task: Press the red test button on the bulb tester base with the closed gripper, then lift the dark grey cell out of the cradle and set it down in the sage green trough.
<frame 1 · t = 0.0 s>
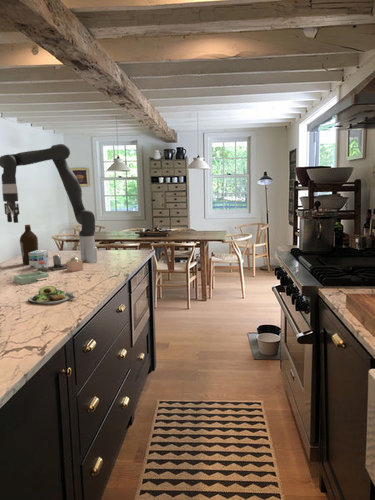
hand: (12, 222, 212), 29 cm above the countertop, tool pointing down, fingers open, 8 cm apart
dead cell: (75, 271, 219), point 1 cm above the countertop, touching tan square box
olive oil: (30, 263, 249), on the countertop
test button: (41, 262, 216), point 6 cm above the countertop, slide at 0.0 cm
green trough: (31, 280, 201), on the countertop
salad plate: (51, 300, 166), on the countertop
tan square box: (75, 272, 219), on the countertop
grey cell: (57, 268, 223), point 1 cm above the countertop, touching bulb tester base
light bulb box: (39, 269, 231), on the countertop
bulb tester base: (51, 272, 220), on the countertop
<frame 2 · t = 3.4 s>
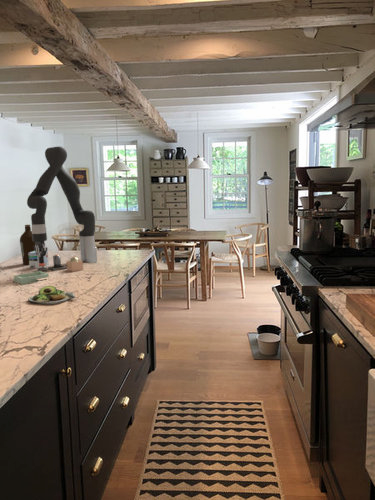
hand: (41, 263, 216), 6 cm above the countertop, tool pointing down, fingers closed
test button: (41, 264, 216), point 5 cm above the countertop, slide at -1.1 cm, touching gripper
everything else where it was.
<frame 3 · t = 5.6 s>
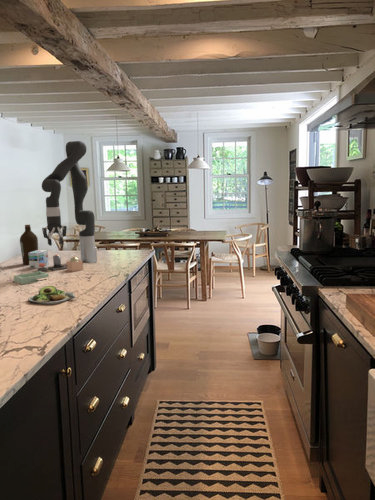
hand: (55, 244, 220), 16 cm above the countertop, tool pointing down, fingers open, 6 cm apart
test button: (42, 265, 216), point 5 cm above the countertop, slide at -1.3 cm
everything else where it was.
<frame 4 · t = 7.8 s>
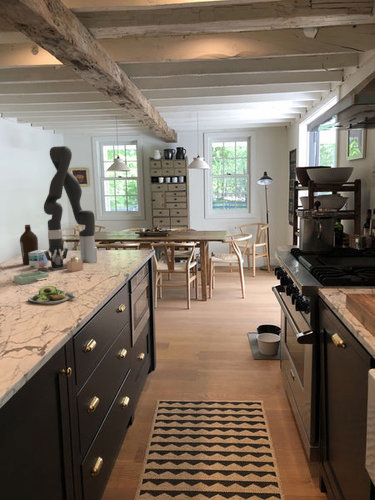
hand: (57, 266, 223), 3 cm above the countertop, tool pointing down, fingers closed on grey cell, 4 cm apart
grey cell: (57, 268, 223), point 1 cm above the countertop, touching bulb tester base, gripper
everything else where it was.
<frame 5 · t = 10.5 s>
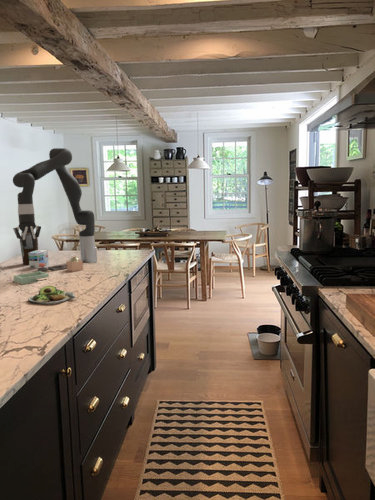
hand: (28, 246, 199), 18 cm above the countertop, tool pointing down, fingers closed on grey cell, 4 cm apart
grey cell: (28, 248, 199), point 17 cm above the countertop, touching gripper
everything else where it was.
when the fingers open (3 cm above the countertop, at t = 13.6 s): grey cell drops 1 cm, resting on green trough.
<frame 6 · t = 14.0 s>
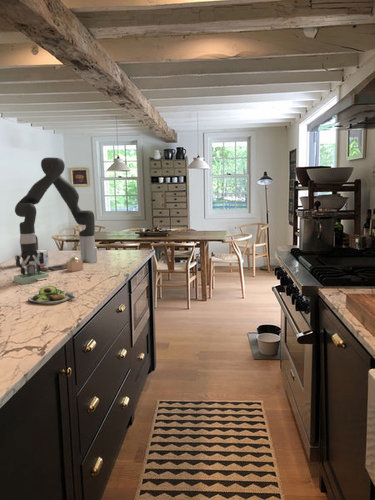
hand: (31, 273, 201), 4 cm above the countertop, tool pointing down, fingers open, 7 cm apart
grey cell: (31, 279, 201), point 1 cm above the countertop, touching green trough
everything else where it was.
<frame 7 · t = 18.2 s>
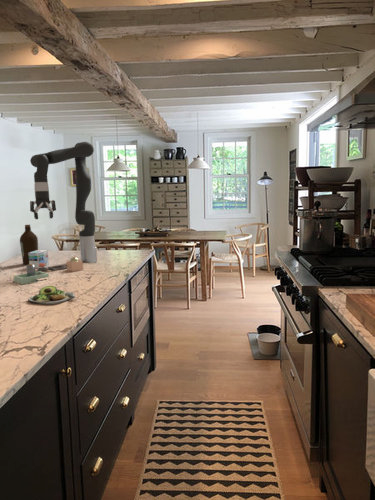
hand: (44, 218, 222), 30 cm above the countertop, tool pointing down, fingers open, 8 cm apart
nothing on the countertop moved.
at the end: grey cell inside the target area on the green trough (0.1 cm from its centre), point 0.6 cm above the green trough's base; test button slide at -1.3 cm; the gripper is holding nothing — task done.
